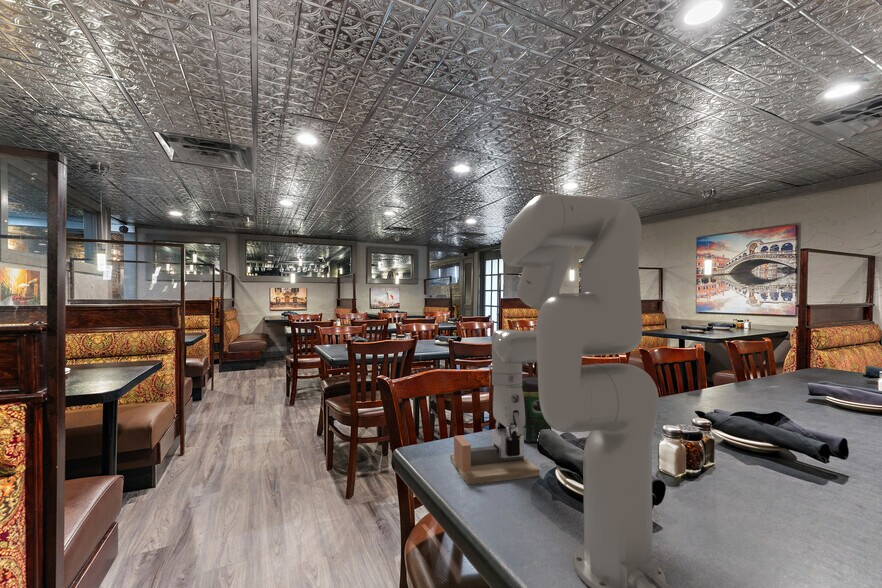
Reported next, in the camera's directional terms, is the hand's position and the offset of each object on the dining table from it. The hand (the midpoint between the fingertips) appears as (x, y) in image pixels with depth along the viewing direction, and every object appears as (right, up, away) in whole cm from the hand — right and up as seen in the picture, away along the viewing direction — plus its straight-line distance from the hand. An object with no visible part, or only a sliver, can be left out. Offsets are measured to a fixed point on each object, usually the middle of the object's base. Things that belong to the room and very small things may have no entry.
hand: (507, 450), depth 97 cm
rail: (-3, -3, -1) cm, 4 cm away
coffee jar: (+11, -5, +19) cm, 23 cm away
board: (-4, -4, -1) cm, 6 cm away
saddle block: (0, -1, 0) cm, 1 cm away
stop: (-12, -3, -3) cm, 12 cm away
